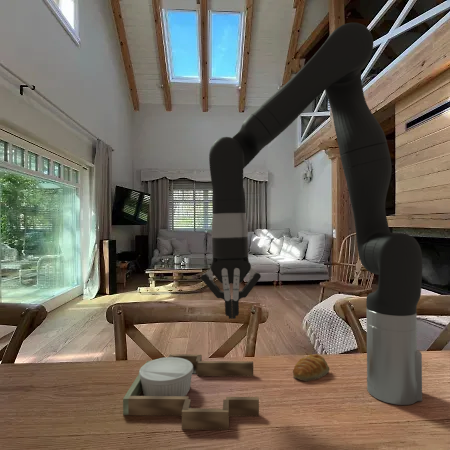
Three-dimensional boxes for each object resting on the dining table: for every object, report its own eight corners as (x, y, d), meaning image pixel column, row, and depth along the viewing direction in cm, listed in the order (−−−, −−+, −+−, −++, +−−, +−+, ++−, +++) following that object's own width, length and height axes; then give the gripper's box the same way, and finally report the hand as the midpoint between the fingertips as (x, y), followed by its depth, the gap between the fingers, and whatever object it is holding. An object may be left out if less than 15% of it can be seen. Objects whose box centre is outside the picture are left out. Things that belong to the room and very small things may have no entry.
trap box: (252, 367, 80) (252, 354, 80) (260, 430, 55) (260, 412, 55) (151, 366, 80) (151, 354, 80) (115, 428, 55) (115, 410, 56)
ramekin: (142, 412, 61) (142, 384, 61) (136, 385, 71) (136, 361, 71) (199, 400, 65) (199, 374, 65) (186, 376, 75) (186, 354, 75)
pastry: (311, 387, 70) (311, 369, 70) (285, 377, 75) (284, 360, 75) (331, 373, 77) (331, 356, 77) (306, 365, 82) (305, 349, 82)
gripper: (259, 234, 72) (262, 312, 71) (200, 235, 72) (202, 313, 72) (262, 235, 64) (265, 322, 64) (196, 236, 64) (198, 323, 64)
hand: (232, 317), depth 68 cm, fingers closed
